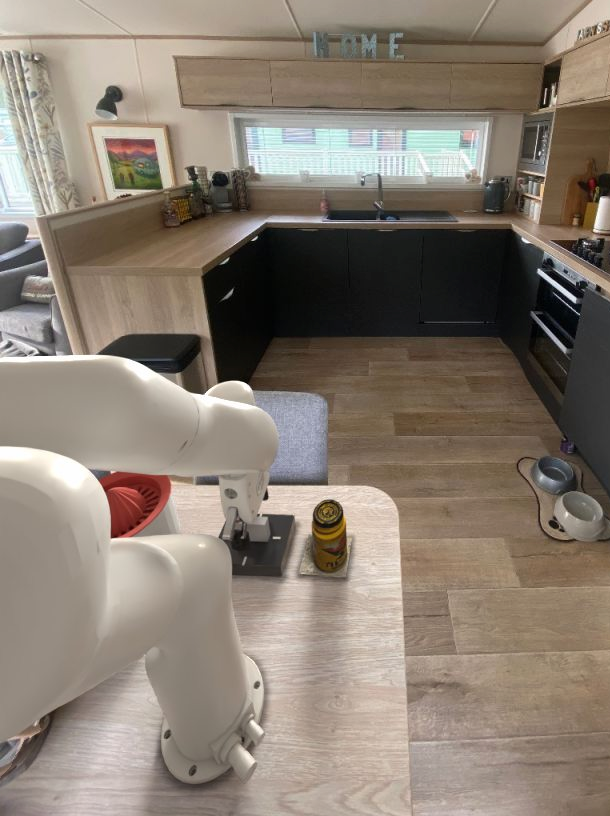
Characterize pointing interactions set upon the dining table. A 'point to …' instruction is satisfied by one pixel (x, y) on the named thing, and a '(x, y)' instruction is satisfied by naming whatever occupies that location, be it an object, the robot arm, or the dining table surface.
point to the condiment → (327, 542)
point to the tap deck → (265, 549)
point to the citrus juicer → (140, 505)
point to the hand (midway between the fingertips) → (251, 522)
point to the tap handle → (257, 529)
